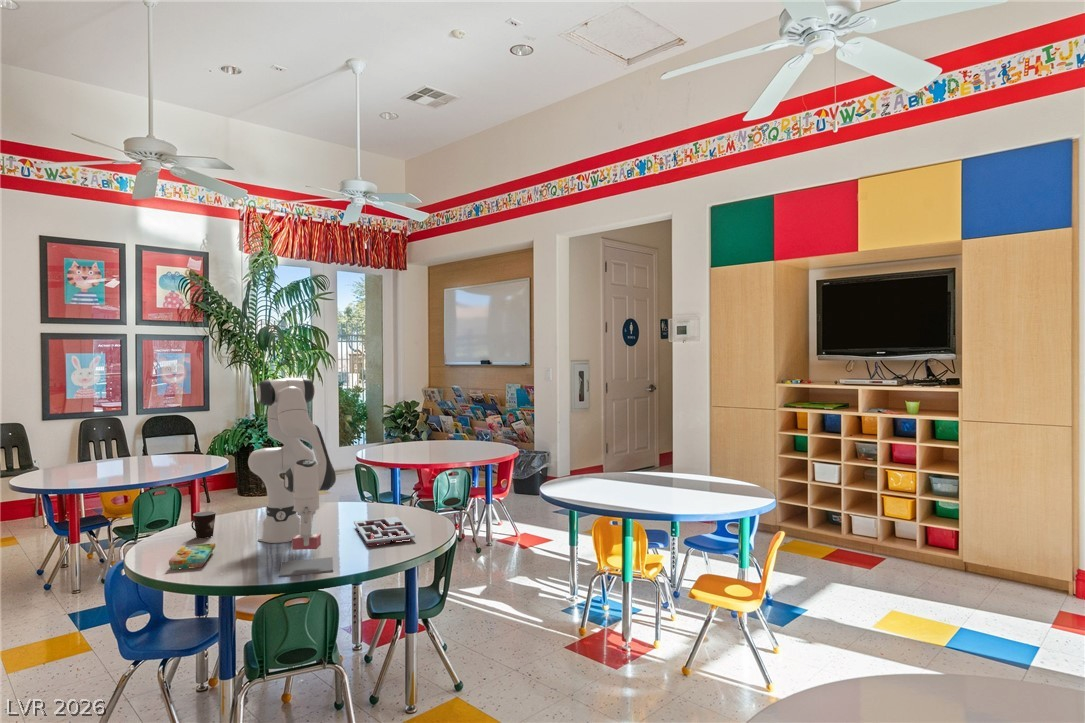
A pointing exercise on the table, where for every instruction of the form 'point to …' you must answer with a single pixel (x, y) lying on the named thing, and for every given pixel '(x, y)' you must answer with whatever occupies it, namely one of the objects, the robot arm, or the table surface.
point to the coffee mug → (204, 523)
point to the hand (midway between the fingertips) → (306, 542)
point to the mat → (306, 567)
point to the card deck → (299, 542)
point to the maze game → (392, 529)
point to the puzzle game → (191, 556)
